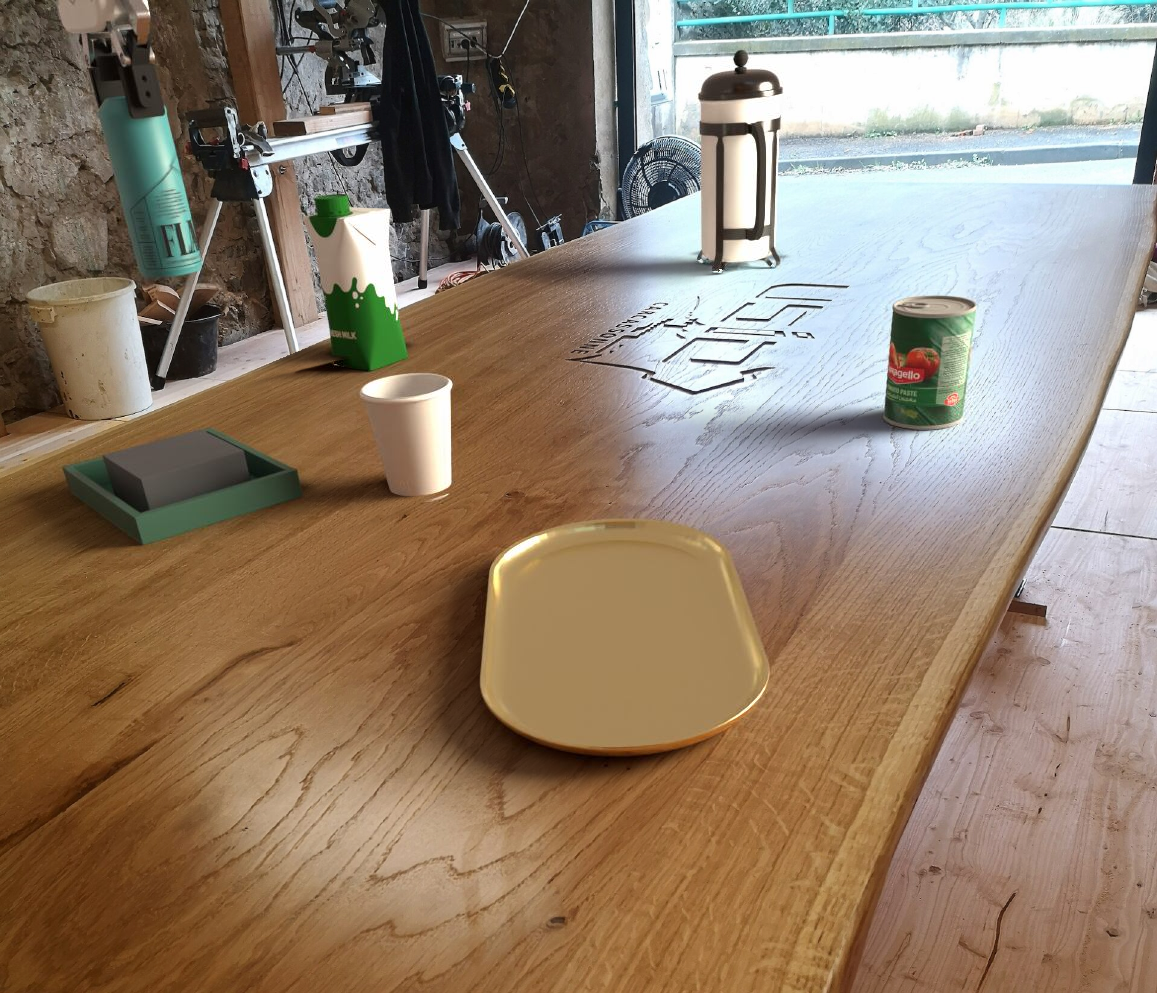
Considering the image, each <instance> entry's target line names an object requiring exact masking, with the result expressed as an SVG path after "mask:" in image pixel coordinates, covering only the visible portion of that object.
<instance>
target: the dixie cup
mask: <svg viewBox="0 0 1157 993" xmlns="http://www.w3.org/2000/svg"><path fill="white" fill-rule="evenodd" d="M452 387H453V382H452V380H451V379H450V378H448V377H446V376H444V375H441V374H438V373H428V372H413V373H401V374H395V375H389V376H384V377H381V378H378V379H375V380H372V381H369V382H368V383H366V384H364V385H363V386H362V387H361V389H360V390H359V394H358V395H359V397H360V398H361V399H362V401H363V403H364V406H365V410H366V413H367V417H368V420H369V424H370V427H371V430H372V434H373V437H374V440H375V444H376V447H377V450H378V454H379V458H380V461H381V464H382V468H383V471H384V474H385V478H386V481H387V485H388V489H389V491H390V492H391V493H392V494H394V495H397V496H401V497H421V496H428V495H432V494H436V493H438V492H442V491H444V490H446V489H448V488H449V487H450V486H451V484H452V442H451V441H452V438H451V435H452V434H451V432H452V431H451V430H452V428H451V427H452V426H451V425H452V424H451V390H452V389H453V388H452ZM448 495H449V493H446V494H444V495H440V496H436V497H433V498H431V499H427V500H425V501H422V502H421V504H425V503H430V502H434V501H438V500H440V499H443V498H445V497H447V496H448Z"/></svg>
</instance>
